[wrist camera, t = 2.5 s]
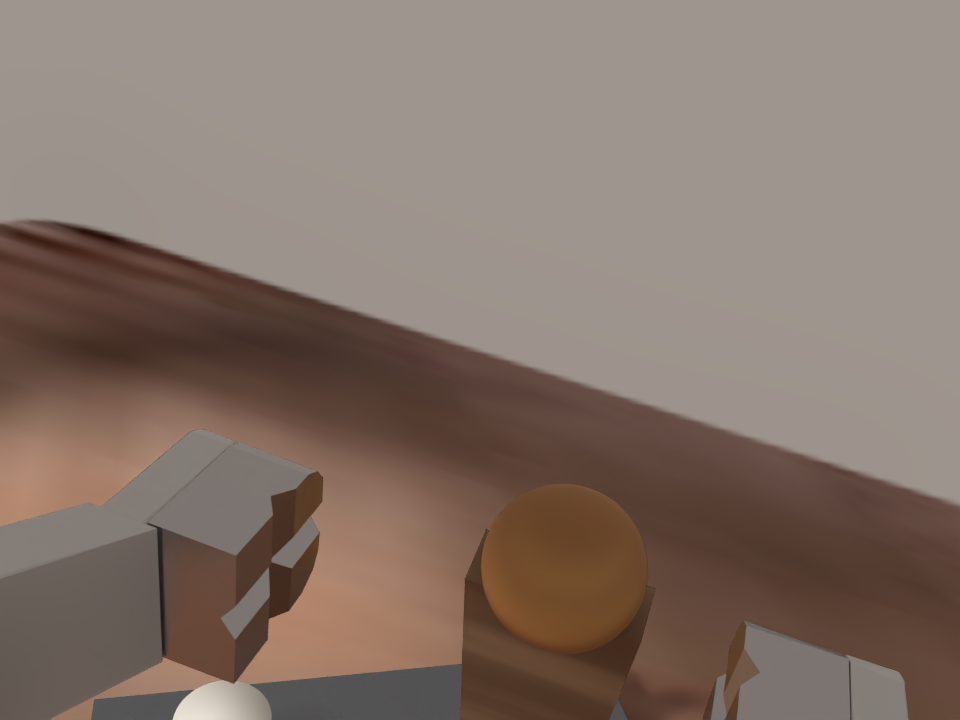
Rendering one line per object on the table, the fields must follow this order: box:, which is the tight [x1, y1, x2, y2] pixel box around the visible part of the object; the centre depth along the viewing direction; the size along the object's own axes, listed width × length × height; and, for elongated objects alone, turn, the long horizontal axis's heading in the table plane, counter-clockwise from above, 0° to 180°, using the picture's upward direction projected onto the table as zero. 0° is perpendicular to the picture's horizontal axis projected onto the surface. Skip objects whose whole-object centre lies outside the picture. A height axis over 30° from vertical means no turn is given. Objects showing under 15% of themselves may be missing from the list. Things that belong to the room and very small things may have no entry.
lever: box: [460, 483, 655, 720], centre depth 24 cm, size 3×4×20 cm
